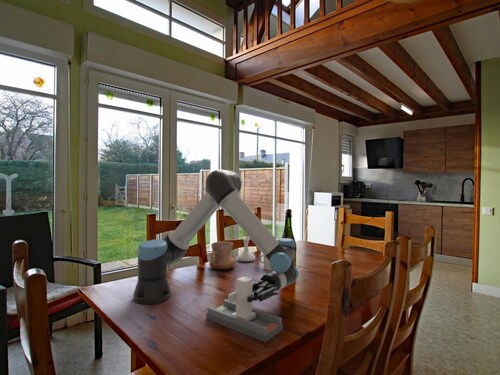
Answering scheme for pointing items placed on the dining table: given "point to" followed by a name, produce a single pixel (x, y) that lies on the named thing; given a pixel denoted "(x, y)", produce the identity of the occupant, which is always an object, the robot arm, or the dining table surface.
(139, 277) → the robot arm
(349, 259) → the dining table surface
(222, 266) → the ceramic jug
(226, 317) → the switch base
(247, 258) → the flower in vase
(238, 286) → the switch lever
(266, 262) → the beige enamel mug
